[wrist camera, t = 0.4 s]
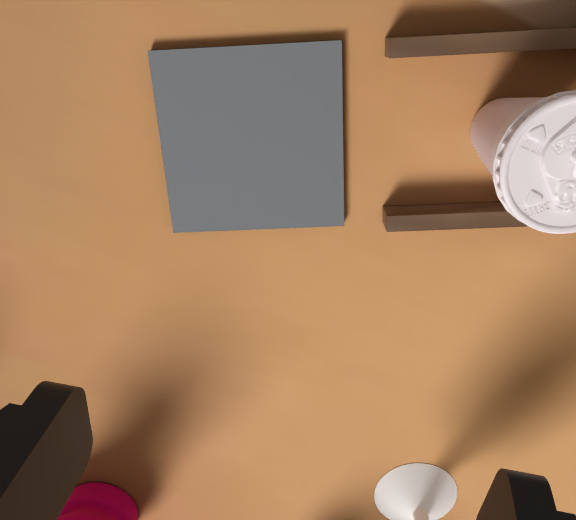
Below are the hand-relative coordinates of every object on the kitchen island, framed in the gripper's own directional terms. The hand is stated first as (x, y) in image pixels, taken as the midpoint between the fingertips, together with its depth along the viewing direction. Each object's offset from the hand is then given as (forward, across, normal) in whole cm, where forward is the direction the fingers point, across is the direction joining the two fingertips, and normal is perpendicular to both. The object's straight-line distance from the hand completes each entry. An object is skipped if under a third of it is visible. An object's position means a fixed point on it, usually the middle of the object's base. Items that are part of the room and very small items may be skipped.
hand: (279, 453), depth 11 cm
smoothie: (+27, -9, +2) cm, 29 cm away
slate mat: (+25, +6, +4) cm, 26 cm away
